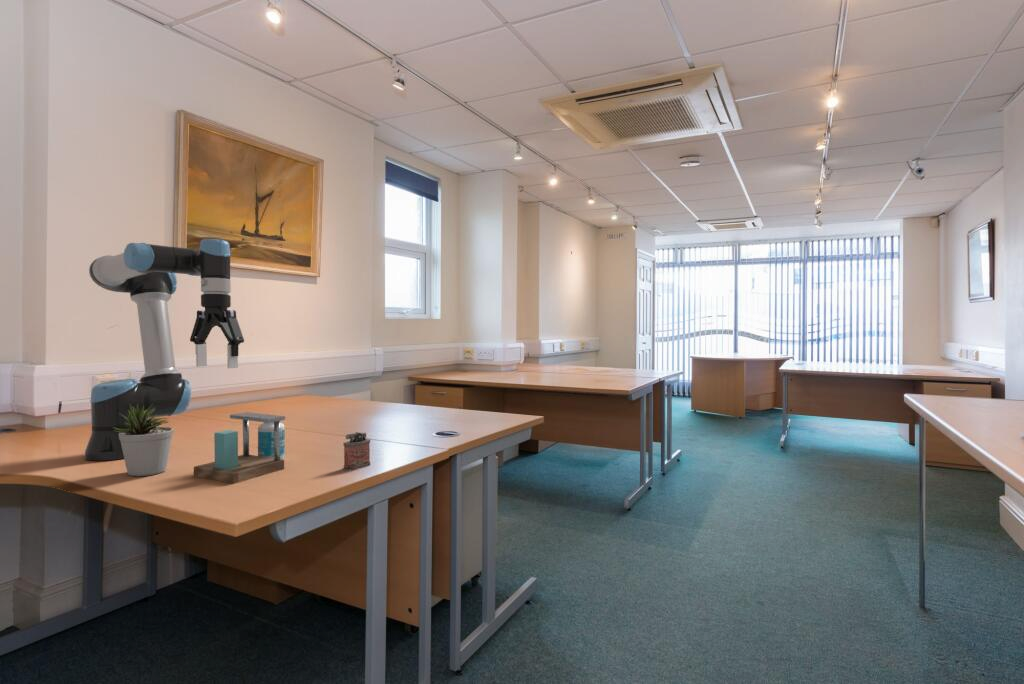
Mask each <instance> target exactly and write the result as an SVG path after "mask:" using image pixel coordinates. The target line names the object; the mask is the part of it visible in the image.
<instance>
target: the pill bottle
mask: <svg viewBox="0 0 1024 684" xmlns="http://www.w3.org/2000/svg"><path fill="white" fill-rule="evenodd" d="M285 432H286V429H285V425H284V423H282V422H280V460H284V459H285V457H286V455H285V454H286V451H285V450H286V449H285V445H286V442H285V438H286V437H285V435H286V433H285ZM257 456H261V457H267V458H274V422H271V423H266V422H262V423H261V424H260V425H258V427H257Z"/></svg>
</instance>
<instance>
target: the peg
mask: <svg viewBox="0 0 1024 684" xmlns="http://www.w3.org/2000/svg"><path fill="white" fill-rule="evenodd" d="M213 434H214V437H213V438H214V441H213V442H214V462H215V469H220V470H228V469H231V468H235V467H238V456H239V432H238V430H230V429H227V430H221V431H216V432H214V433H213Z"/></svg>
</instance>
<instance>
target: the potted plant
mask: <svg viewBox="0 0 1024 684" xmlns="http://www.w3.org/2000/svg"><path fill="white" fill-rule="evenodd" d="M152 405H153V404H152ZM152 405H151V406H152ZM151 406H150V407H149V408H148V410H145V411H144V405H143V409H142V411H141V413H139V410H138V404H137V412H136V410H135V408H134V407H132V408H133V410H132V408H131V405H130V409H131V412H132V413H130V411H129V419H128V418H127V417H125V416H123V415H122V414H120V413H118V414H120V415H122V416H123V417H125V418H126V419H127V420H128V421H129V423H130V424H128V423H124V424H125V425H126V426H128V427H129V428H128V429H118V428H115V429H116V430H120V431H116V430H114V431H116V432H119V440H120V441H121V445H122V450H123V455H124V458H123V459H124V462H125V463H124V464H125V468H126V472H127V475H129V476H131V477H147V476H149V477H150V476H155V475H158V474H161V473H163V472H165V471H166V470H167V468H168V463H169V457H170V450H171V449H170V448H171V444H172V437H173V435H174V428H173V427H170V426H161V425H164V424H168V423H169V421H168V420H169V418H168V417H160V418H159V416H154V417H151V418H149V419H148V417H149V415H150V414H151V413H152V412H154V410H155V408H153V409H154V410H153V409H152V410H153V411H152V410H150V411H149V409H150V408H151ZM148 411H149V412H148ZM145 412H146V413H145ZM131 414H132V415H133V416H132V415H131ZM144 414H145V415H144ZM113 428H114V427H113Z"/></svg>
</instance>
